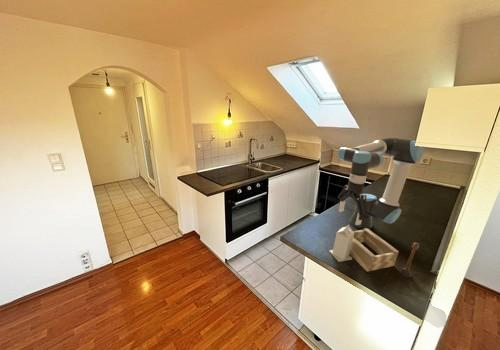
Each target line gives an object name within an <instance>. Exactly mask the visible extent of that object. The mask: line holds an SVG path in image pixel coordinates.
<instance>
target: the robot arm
mask: <svg viewBox="0 0 500 350" xmlns="http://www.w3.org/2000/svg"><path fill="white" fill-rule="evenodd" d="M416 141H417V140H413V139H412V140H411V139H406V138H405V139H404V138H399V137H398V138H397V137H387V138H380V139H376V140H374V141H373V142H371V143H365V144H362V145H358V146H354V147H345V146H344V147H340V149H339V150H338V152H337V158H338V160H341V161H343V162H347V163H350V164H351V168H350V173H349V178H348V182H347V184H346V185H344V186H343V189H342V190H341V191H340V193H339V194H338V195H337V199H339V203H338V205H339V207H338V212H339V213H342V212H344V209H345V206H346V205H345V204H346V200H348V198H351V199H352V200H354V202H355V207H354V211H353V213H352V214H351V216H350V217H349V223H350V224H351V226H354V227H355V228H357V229H360V230H364V229H366V228H368V229H369V230H371V229H372V228H373V224H374V223H373V218H376V219H378V220H380V221H382V222H384V223H387V224H393V223H395V222H396V220H398V219H399V217H400V215H401V214H402V209H401V208H400V203H399V200H400V197H401V195H402V191H403V189H404V186H405V184H406V181H407V178H408V175H409V172H410V169H411V167H413V166H414V165H416V163H418V162H420V161H421V159H422V158H423V154H424V146H423V147H419V146H415V143H416ZM383 155H385V156H390V157H393V158H392V161H393V166H392V169H391V172H390V175H389V178H388V180H387V183H386V186H385V189H384V193H383V194H382V197H379V199H377V196H376V195H374V194H370V193H362V192H363V191H364V189H365V185H366V179H367V176H368V171H369V170H370V169H373V168H378V167H379V166H381V165H382V164H383V163H384V156H383Z"/></svg>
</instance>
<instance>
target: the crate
mask: <svg viewBox="0 0 500 350" xmlns="http://www.w3.org/2000/svg"><path fill="white" fill-rule="evenodd" d="M352 231H353V230H352ZM353 232H354V236H353V241H352V245H351V249H350V253H349V256H350V257H351V258H352V259H354V261H356V262H357V263H358V264H359V265H360V266H361V267H362V268H363V269H364V270H365V271H366V272H371V271H376V270H381V269H385V268H391V267H394V266H395V263H396V261H397V259H398V256H399V253H400V252H399V250H397V249H396V248H395V247H394V246H392V245H391V244H389V243H388V242H387V241H385V240H384V239H382V237H380V236H379V235H377V234H376V233H374V232H373V231H372V230H371V229H368V228H366V229H360V230H354V231H353ZM362 243H364V244H366V246H367V247H369V249H370V248H371V250H372V251H374V252H375V253H376V255H375V254H374V253H373V252H371V251H370V250H369V249H368V248H367V247H365V246H364V244H362Z"/></svg>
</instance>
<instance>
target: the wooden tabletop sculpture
mask: <svg viewBox="0 0 500 350" xmlns="http://www.w3.org/2000/svg"><path fill="white" fill-rule="evenodd" d="M419 247H420V243H419V242H413V243H412V245H411V248H412V249H411V252H410V255H409V257H408V260H407V261H406V264H405V266H404V267H403V268H401V269H400V270H399V274H400V275H401V276H402V277H403V278H406V279H410V278H411V277H412V272H411V266H412V261H413V259H414V256H415V254H416V251H417V250H418V249H419Z"/></svg>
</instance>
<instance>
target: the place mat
mask: <svg viewBox="0 0 500 350" xmlns="http://www.w3.org/2000/svg"><path fill="white" fill-rule="evenodd" d="M328 251H329V253H330V254H331V255H332V256H333V258H335V260H337V262H338V263H339V262H345V261H351V260H353V257H352V256H351V255H350V254H349V255H348V257H347V258H346V259H345V260H343V259H341V258H339V257H337V256H335V255H334V254H332V253H333V249H331V250H330V249H329V250H328Z"/></svg>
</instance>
